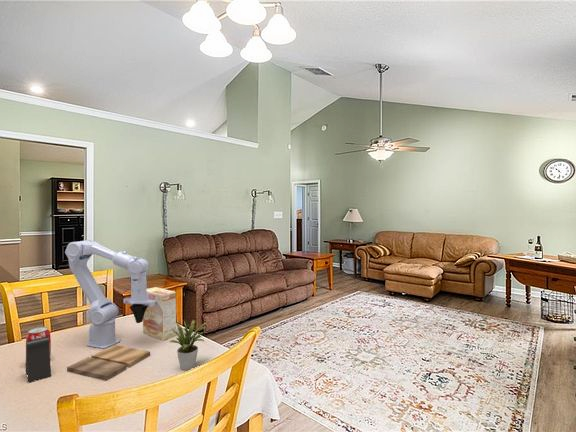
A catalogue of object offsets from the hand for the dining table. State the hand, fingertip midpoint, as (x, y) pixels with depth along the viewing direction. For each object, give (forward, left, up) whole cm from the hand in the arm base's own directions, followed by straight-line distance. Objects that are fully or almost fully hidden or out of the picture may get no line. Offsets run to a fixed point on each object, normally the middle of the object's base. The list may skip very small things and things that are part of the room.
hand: (139, 322), depth 132 cm
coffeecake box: (0, +12, -10) cm, 15 cm away
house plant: (+31, -9, -10) cm, 34 cm away
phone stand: (-14, -30, -10) cm, 34 cm away
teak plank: (+2, -11, -9) cm, 15 cm away
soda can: (-23, -24, -10) cm, 35 cm away
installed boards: (+2, -21, -9) cm, 23 cm away
